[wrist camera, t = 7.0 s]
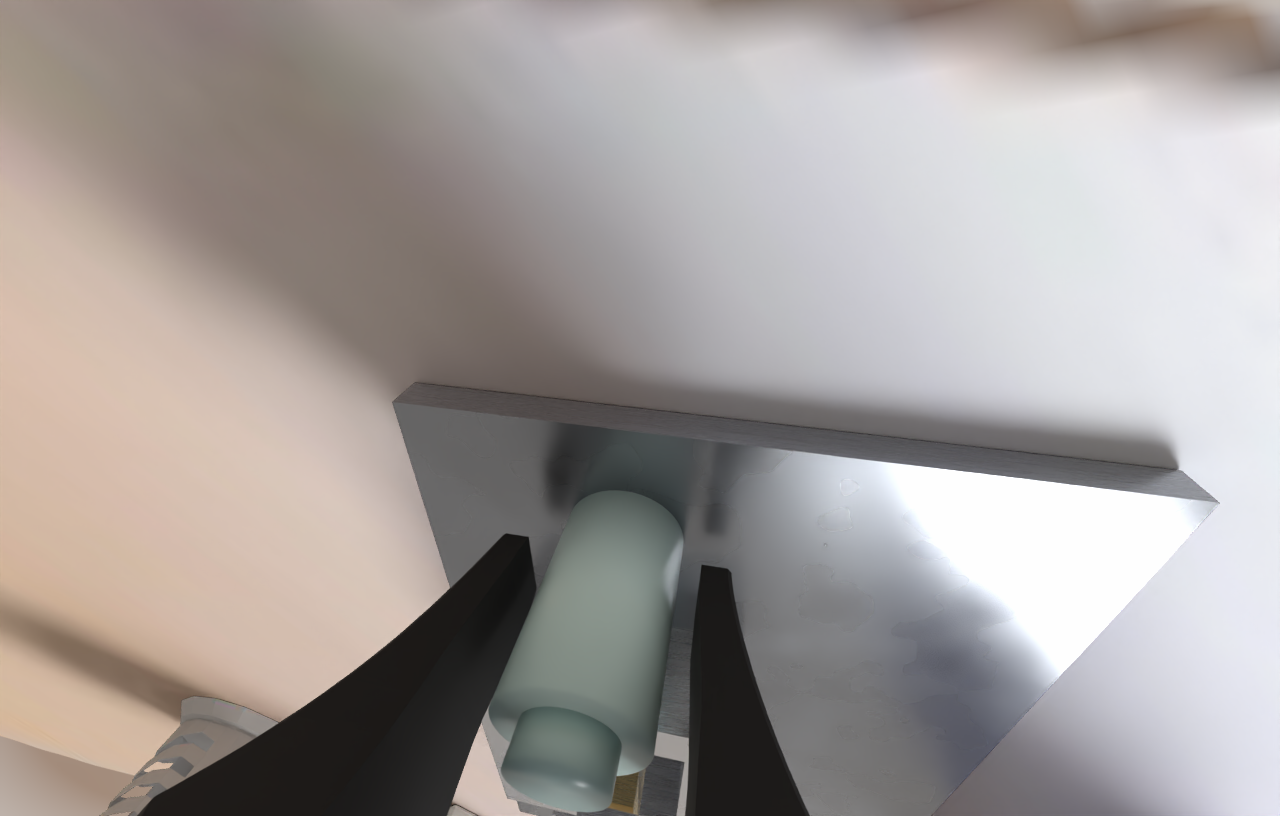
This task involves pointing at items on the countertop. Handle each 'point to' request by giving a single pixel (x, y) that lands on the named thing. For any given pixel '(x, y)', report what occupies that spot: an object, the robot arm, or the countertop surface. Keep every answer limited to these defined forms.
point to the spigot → (592, 655)
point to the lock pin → (626, 793)
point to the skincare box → (459, 811)
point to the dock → (823, 572)
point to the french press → (193, 747)
